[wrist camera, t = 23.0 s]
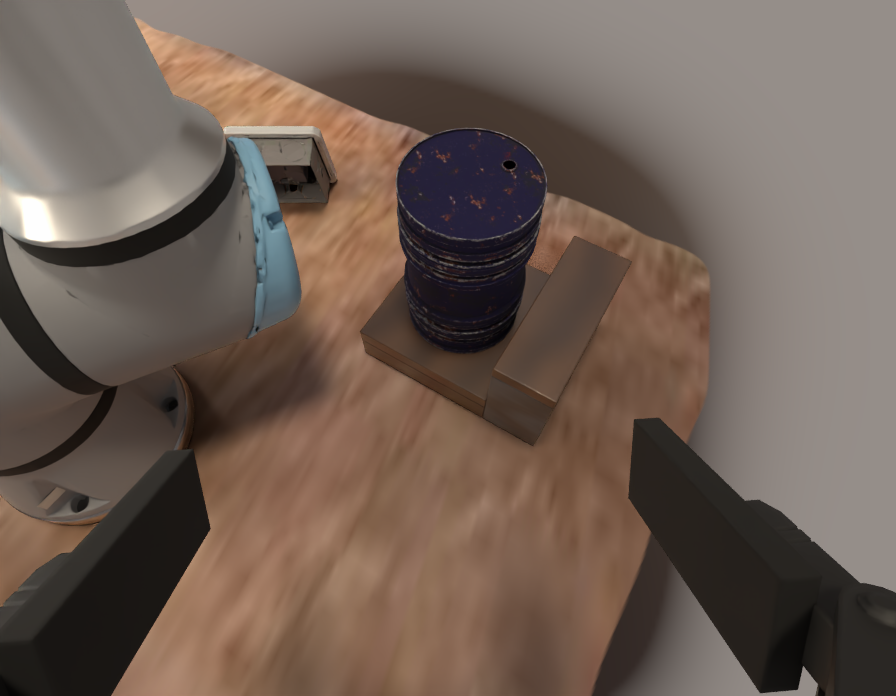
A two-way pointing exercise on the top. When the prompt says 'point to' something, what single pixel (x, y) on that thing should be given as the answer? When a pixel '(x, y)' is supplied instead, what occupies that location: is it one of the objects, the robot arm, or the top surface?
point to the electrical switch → (292, 160)
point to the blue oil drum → (468, 234)
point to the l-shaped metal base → (510, 342)
